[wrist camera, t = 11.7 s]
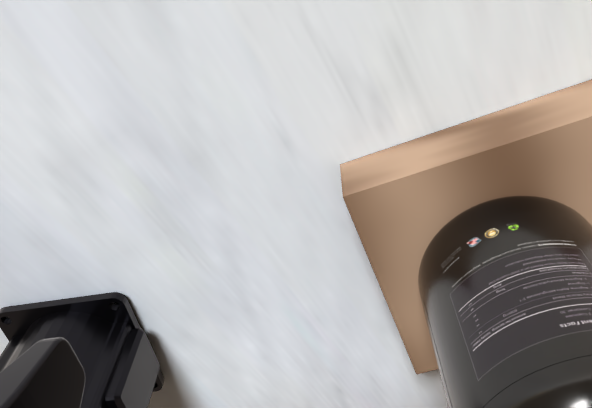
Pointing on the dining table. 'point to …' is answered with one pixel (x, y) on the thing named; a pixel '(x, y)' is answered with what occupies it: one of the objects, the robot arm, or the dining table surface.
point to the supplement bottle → (511, 305)
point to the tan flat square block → (463, 189)
